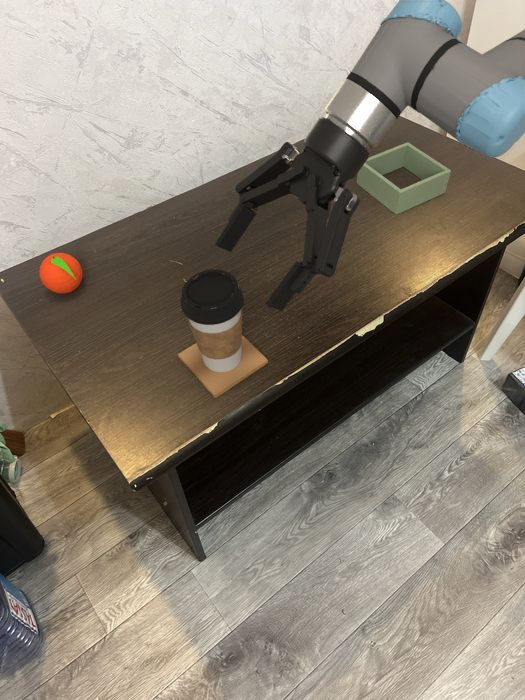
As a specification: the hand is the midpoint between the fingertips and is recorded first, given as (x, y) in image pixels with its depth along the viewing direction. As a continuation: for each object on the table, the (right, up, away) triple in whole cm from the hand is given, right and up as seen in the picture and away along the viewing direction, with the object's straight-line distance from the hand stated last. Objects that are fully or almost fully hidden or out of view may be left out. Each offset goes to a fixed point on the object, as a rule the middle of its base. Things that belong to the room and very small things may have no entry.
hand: (246, 276), depth 67 cm
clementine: (-32, +1, +22) cm, 39 cm away
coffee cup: (-4, -11, +10) cm, 16 cm away
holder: (+30, +23, +36) cm, 52 cm away
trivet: (-4, -11, +11) cm, 16 cm away
